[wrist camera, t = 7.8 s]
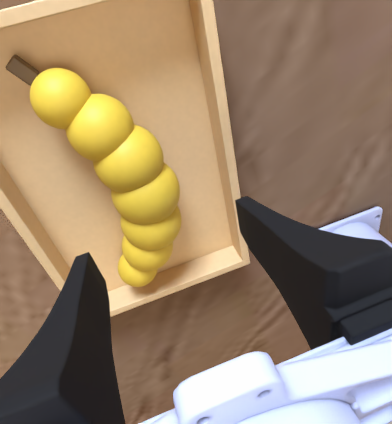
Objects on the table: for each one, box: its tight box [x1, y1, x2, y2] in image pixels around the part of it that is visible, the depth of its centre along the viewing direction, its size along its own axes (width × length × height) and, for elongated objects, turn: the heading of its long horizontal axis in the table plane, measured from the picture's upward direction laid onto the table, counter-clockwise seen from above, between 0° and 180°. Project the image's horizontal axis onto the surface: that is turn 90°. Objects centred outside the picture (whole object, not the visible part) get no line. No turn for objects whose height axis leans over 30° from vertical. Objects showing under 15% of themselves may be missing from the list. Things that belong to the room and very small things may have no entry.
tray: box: [0, 0, 250, 317], centre depth 20 cm, size 19×13×2 cm
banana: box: [5, 54, 181, 287], centre depth 19 cm, size 16×6×4 cm, turn 12°
